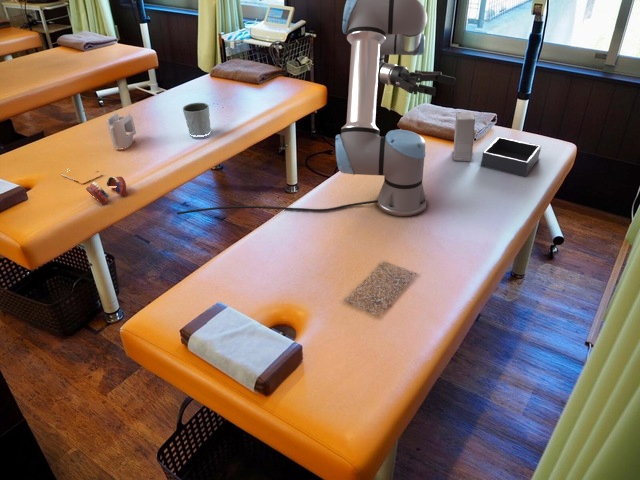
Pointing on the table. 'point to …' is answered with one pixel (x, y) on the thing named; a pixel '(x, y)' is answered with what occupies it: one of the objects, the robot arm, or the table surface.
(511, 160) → the box
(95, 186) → the teeth model
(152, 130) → the table surface
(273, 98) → the table surface
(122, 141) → the cable organizer
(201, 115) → the drinking glass
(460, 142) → the cosmetic box
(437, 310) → the table surface
